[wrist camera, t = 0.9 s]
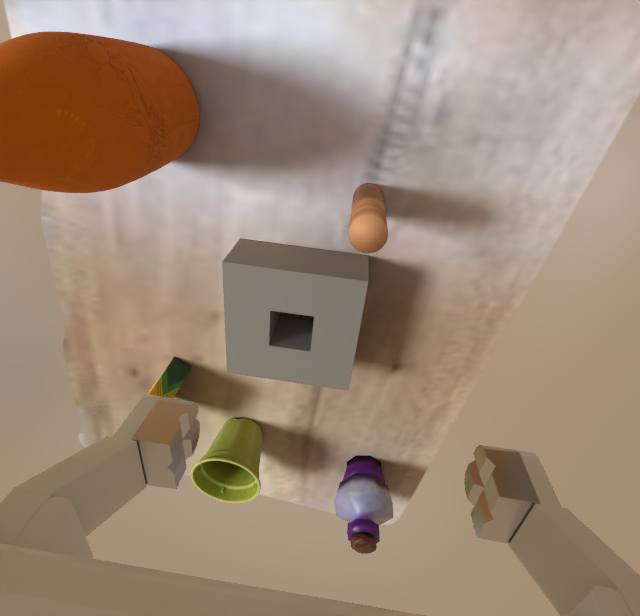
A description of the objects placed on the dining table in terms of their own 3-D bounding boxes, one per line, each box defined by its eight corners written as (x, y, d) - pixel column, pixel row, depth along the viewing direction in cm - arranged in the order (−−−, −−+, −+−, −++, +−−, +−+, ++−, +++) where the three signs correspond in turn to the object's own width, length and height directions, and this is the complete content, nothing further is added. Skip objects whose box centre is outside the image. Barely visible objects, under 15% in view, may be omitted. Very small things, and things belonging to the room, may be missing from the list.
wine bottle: (136, 12, 32) (-749, -214, 7) (226, 108, 35) (-144, 204, 10) (83, 104, 36) (-584, 179, 11) (168, 182, 39) (-198, 384, 14)
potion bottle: (329, 475, 62) (322, 555, 51) (345, 442, 57) (341, 522, 47) (381, 489, 62) (383, 571, 52) (401, 457, 57) (408, 540, 47)
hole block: (240, 238, 42) (222, 261, 37) (368, 255, 41) (368, 281, 36) (241, 341, 49) (227, 372, 44) (350, 357, 49) (348, 390, 43)
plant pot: (254, 459, 62) (238, 512, 54) (202, 431, 59) (179, 482, 52) (285, 429, 57) (273, 482, 50) (231, 398, 55) (209, 449, 48)
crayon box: (171, 396, 56) (129, 465, 46) (152, 385, 55) (106, 453, 45) (193, 367, 52) (152, 435, 43) (173, 355, 52) (127, 422, 42)
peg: (355, 181, 37) (351, 213, 29) (386, 185, 37) (391, 218, 29) (351, 211, 39) (346, 250, 30) (380, 215, 39) (383, 255, 30)
